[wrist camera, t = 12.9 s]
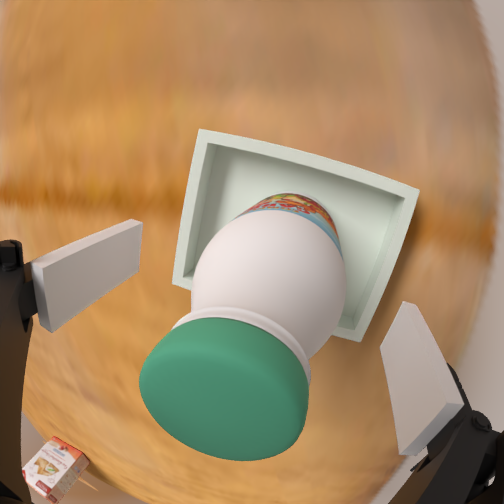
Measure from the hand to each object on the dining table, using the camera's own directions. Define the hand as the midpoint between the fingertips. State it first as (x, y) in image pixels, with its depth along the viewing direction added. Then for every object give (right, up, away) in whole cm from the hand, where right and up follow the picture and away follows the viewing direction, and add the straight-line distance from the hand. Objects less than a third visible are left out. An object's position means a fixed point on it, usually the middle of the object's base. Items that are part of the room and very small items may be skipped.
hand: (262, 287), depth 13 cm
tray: (+3, +3, +12) cm, 13 cm away
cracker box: (-54, -56, +44) cm, 89 cm away
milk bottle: (+3, +3, +12) cm, 13 cm away
